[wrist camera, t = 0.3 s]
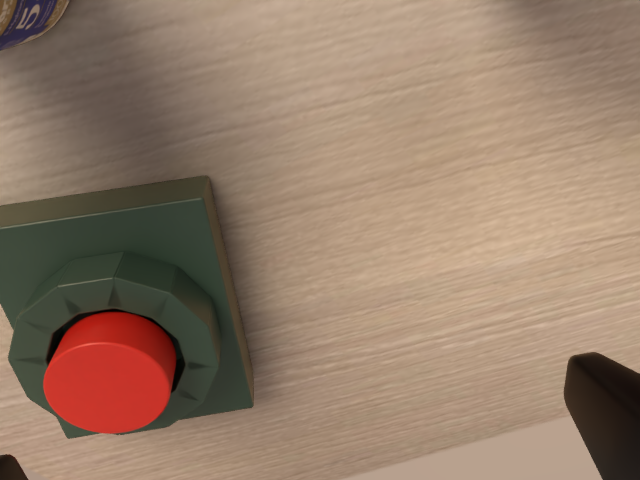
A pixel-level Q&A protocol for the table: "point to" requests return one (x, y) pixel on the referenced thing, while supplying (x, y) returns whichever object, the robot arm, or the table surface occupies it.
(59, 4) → the pill bottle
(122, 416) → the button
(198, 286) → the housing
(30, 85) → the table surface
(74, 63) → the table surface
